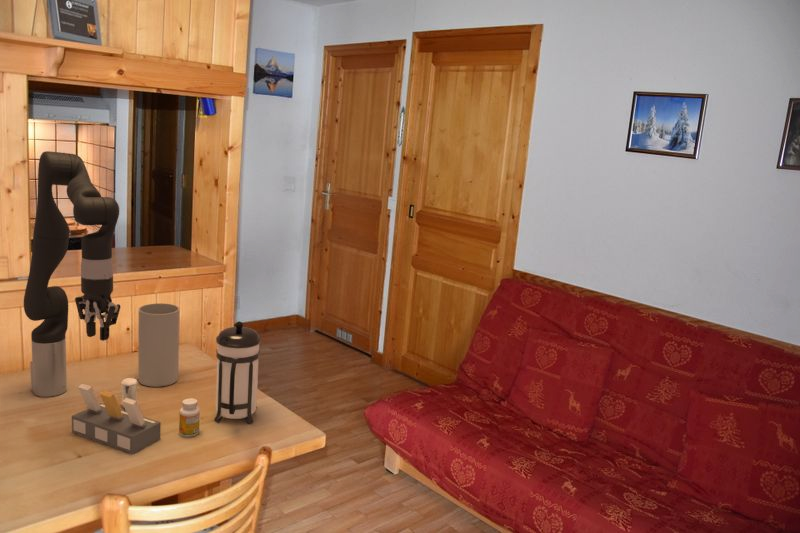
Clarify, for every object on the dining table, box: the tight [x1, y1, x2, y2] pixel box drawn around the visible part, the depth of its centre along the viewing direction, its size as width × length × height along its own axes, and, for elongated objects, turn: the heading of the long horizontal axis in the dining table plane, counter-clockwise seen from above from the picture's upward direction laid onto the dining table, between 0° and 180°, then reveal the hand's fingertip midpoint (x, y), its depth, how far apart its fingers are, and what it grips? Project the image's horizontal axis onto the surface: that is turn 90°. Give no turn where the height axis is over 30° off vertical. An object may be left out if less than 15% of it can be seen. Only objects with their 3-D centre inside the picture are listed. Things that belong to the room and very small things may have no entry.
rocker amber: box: [99, 390, 124, 420], centre depth 177 cm, size 4×1×9 cm, turn 67°
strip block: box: [71, 402, 162, 455], centre depth 180 cm, size 22×10×5 cm, turn 67°
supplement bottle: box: [178, 397, 201, 438], centre depth 185 cm, size 5×5×10 cm
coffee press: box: [213, 321, 262, 425], centre depth 194 cm, size 17×16×30 cm
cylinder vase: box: [137, 302, 180, 388], centre depth 216 cm, size 12×12×25 cm
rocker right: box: [122, 398, 146, 428], centre depth 174 cm, size 4×1×9 cm, turn 67°
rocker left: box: [77, 383, 102, 413], centre depth 180 cm, size 4×1×9 cm, turn 67°
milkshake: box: [120, 377, 139, 410], centre depth 197 cm, size 4×5×10 cm
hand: (97, 337), depth 171 cm, fingers open, 4 cm apart
